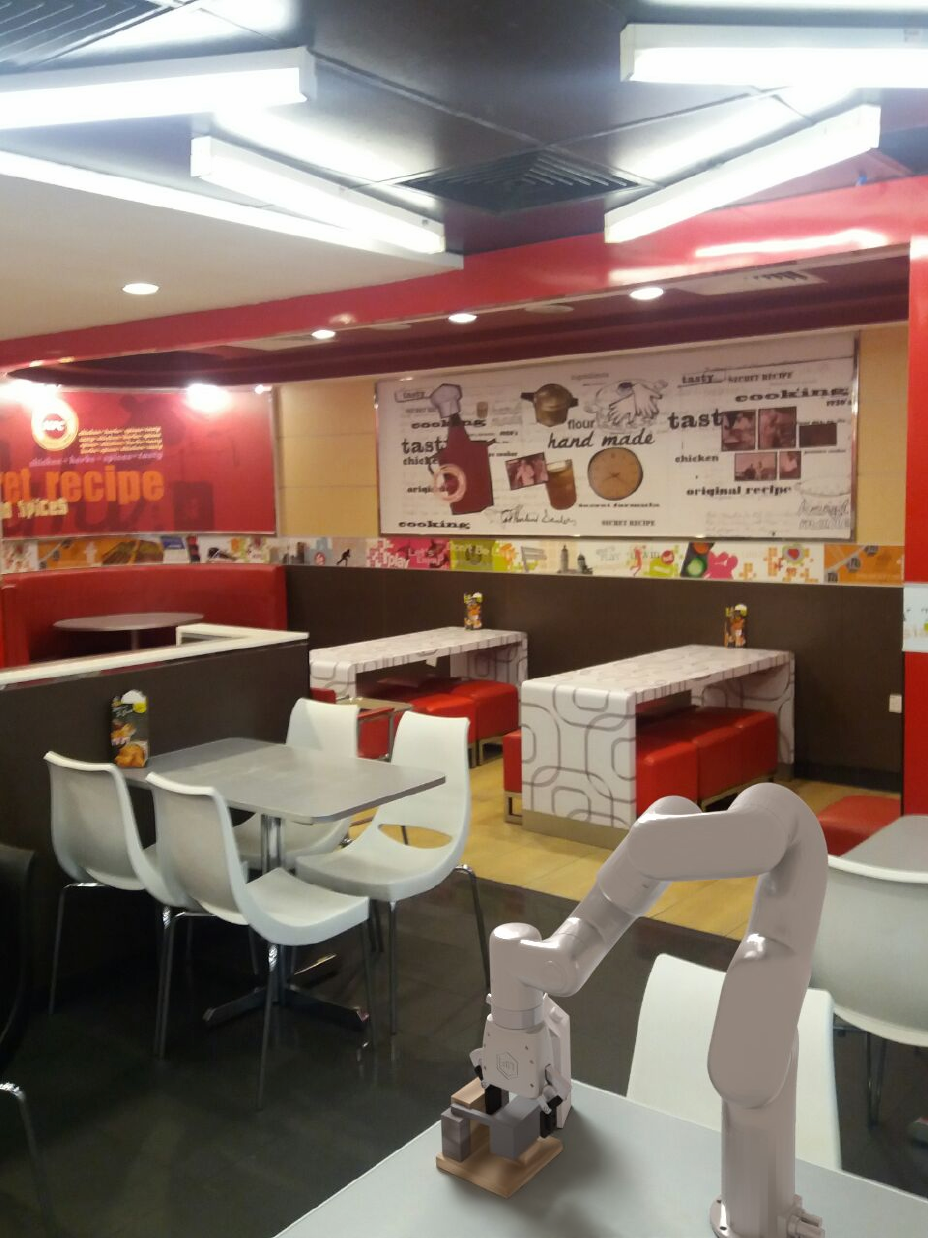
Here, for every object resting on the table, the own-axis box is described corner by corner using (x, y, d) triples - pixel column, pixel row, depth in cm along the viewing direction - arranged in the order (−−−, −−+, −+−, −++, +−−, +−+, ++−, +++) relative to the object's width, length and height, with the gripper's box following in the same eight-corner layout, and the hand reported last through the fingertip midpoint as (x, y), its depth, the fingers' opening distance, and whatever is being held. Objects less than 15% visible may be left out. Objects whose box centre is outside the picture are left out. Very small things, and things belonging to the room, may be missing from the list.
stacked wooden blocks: (562, 1150, 169) (561, 1090, 167) (507, 1199, 158) (505, 1136, 157) (492, 1121, 177) (491, 1064, 175) (436, 1166, 166) (433, 1105, 165)
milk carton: (517, 1123, 176) (514, 1008, 174) (528, 1099, 183) (525, 988, 180) (562, 1129, 174) (560, 1013, 171) (571, 1104, 181) (569, 992, 178)
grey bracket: (553, 1123, 169) (552, 1092, 168) (513, 1161, 160) (512, 1128, 159) (491, 1102, 175) (491, 1072, 174) (450, 1137, 166) (449, 1105, 165)
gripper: (454, 1005, 164) (458, 1115, 166) (553, 1039, 153) (555, 1156, 156) (485, 986, 170) (488, 1092, 172) (582, 1017, 159) (584, 1130, 161)
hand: (520, 1122), depth 164 cm, fingers open, 9 cm apart
